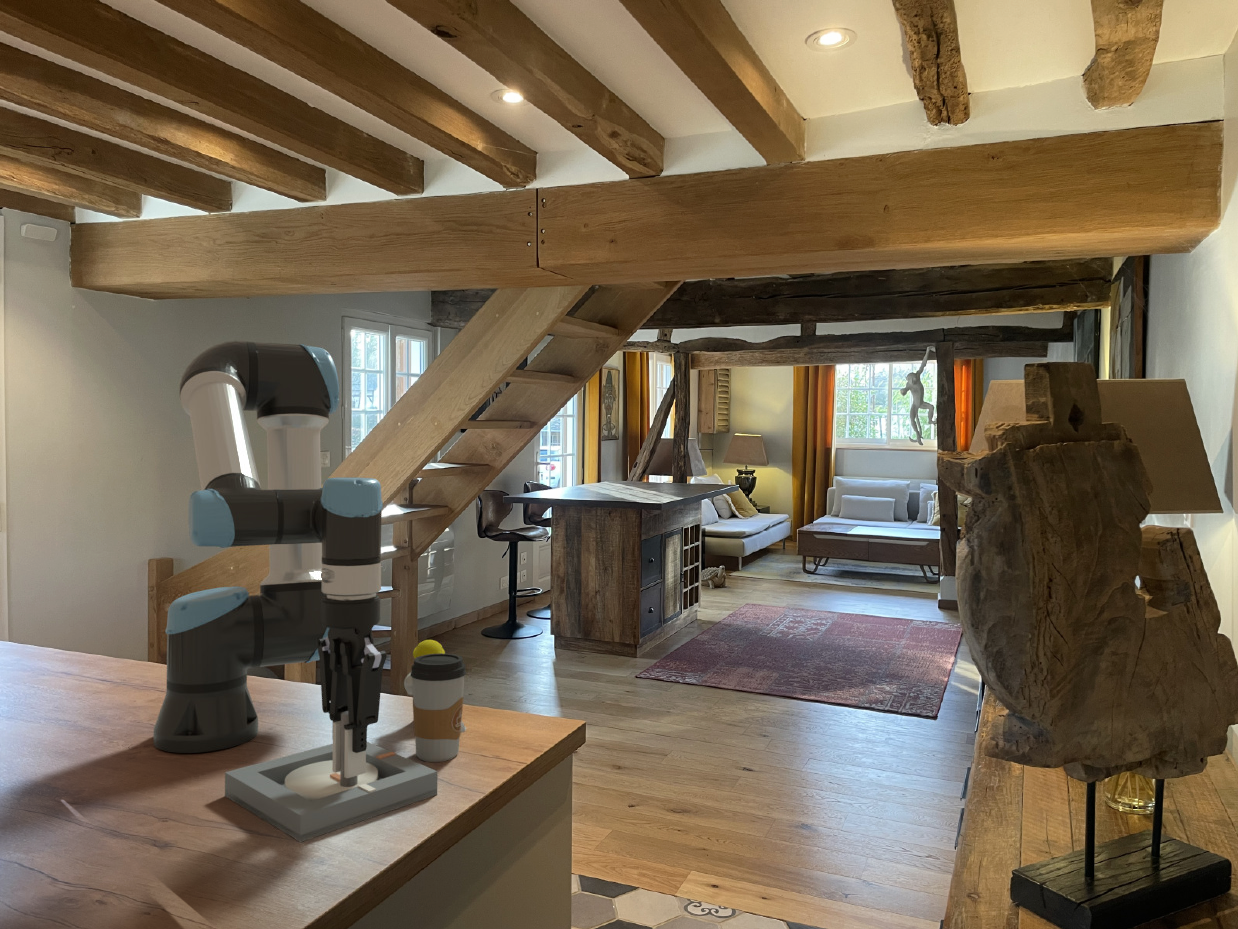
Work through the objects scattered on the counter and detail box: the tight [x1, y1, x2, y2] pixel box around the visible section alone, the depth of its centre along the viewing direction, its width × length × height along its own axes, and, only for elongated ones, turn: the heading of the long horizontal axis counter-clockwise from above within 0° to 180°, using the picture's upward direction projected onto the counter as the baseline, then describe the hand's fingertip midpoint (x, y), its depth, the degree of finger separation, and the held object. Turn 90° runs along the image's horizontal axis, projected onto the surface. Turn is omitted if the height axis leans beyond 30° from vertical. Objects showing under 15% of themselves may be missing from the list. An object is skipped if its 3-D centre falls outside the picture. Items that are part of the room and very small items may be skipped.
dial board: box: [224, 741, 438, 843], centre depth 119 cm, size 20×20×3 cm
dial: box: [285, 711, 378, 801], centre depth 119 cm, size 12×12×11 cm
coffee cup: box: [410, 653, 467, 763], centre depth 135 cm, size 8×8×15 cm
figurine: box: [403, 639, 467, 733], centre depth 147 cm, size 10×9×15 cm
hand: (349, 771), depth 117 cm, fingers closed on dial, 2 cm apart
